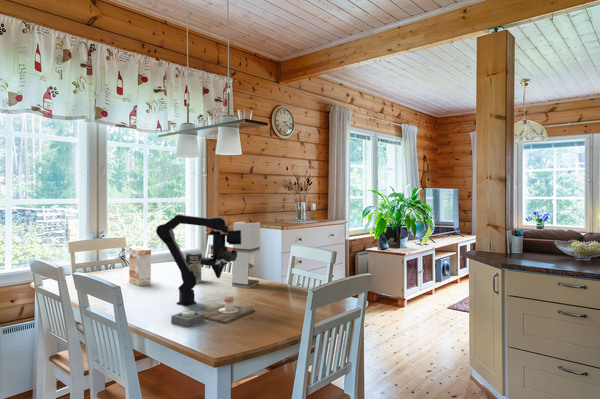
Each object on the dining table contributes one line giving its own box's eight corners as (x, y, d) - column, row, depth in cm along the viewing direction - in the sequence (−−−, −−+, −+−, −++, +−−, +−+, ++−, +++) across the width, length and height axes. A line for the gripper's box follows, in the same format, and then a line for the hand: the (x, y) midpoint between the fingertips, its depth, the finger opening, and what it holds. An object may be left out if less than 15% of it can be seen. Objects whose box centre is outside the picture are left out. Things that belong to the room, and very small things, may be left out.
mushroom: (222, 310, 174) (222, 297, 174) (228, 308, 178) (228, 295, 178) (229, 311, 172) (229, 299, 172) (235, 309, 176) (235, 297, 176)
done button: (178, 317, 160) (178, 313, 160) (188, 314, 164) (188, 310, 164) (188, 320, 158) (188, 315, 158) (197, 316, 162) (197, 312, 162)
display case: (249, 288, 219) (250, 223, 219) (232, 286, 223) (233, 222, 223) (258, 284, 230) (260, 222, 229) (242, 282, 234) (243, 221, 233)
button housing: (171, 323, 159) (171, 315, 159) (188, 317, 167) (188, 310, 167) (188, 327, 155) (188, 319, 155) (204, 321, 163) (204, 313, 163)
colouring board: (195, 316, 169) (195, 314, 169) (226, 305, 186) (226, 303, 186) (225, 323, 161) (225, 320, 161) (254, 311, 178) (254, 308, 178)
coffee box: (184, 283, 228) (185, 254, 228) (185, 280, 235) (185, 252, 234) (201, 282, 231) (202, 254, 230) (201, 279, 237) (201, 252, 237)
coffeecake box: (128, 281, 230) (129, 246, 230) (141, 279, 235) (141, 245, 235) (138, 286, 219) (138, 250, 219) (151, 284, 224) (151, 249, 223)
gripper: (219, 248, 176) (218, 283, 176) (245, 243, 192) (244, 276, 192) (199, 245, 181) (199, 280, 182) (226, 241, 198) (226, 273, 198)
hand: (218, 277), depth 188 cm, fingers closed
